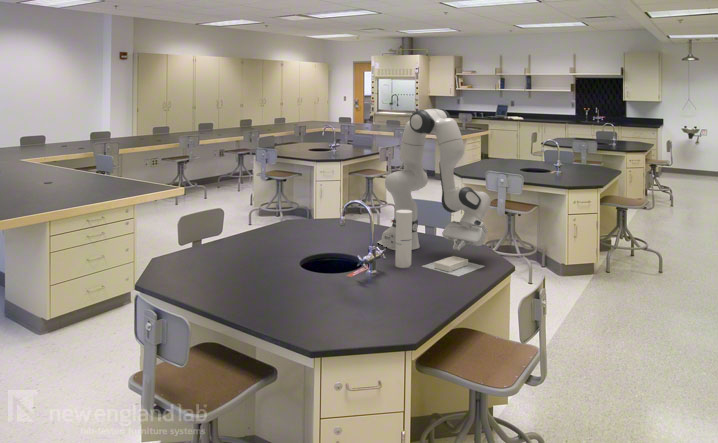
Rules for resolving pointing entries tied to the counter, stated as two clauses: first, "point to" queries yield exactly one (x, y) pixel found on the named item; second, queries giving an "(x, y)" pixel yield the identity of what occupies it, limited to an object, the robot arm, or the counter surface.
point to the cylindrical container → (403, 238)
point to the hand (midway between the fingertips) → (456, 249)
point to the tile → (451, 263)
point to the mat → (459, 271)
